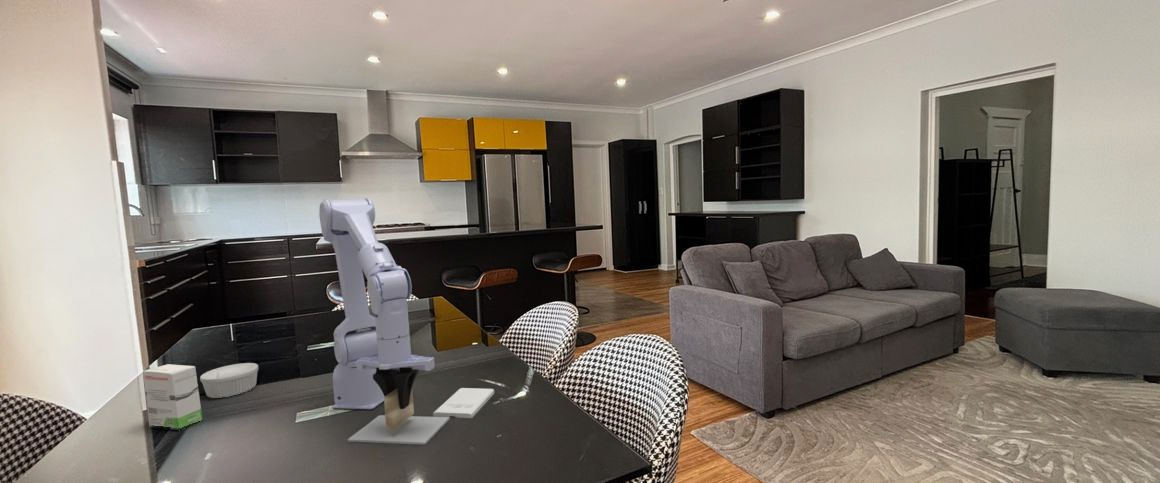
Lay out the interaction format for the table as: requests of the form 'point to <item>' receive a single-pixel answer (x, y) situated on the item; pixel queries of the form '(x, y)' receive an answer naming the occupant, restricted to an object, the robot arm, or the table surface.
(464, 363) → the table surface
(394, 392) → the tile
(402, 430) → the mat
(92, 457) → the table surface
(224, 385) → the ramekin
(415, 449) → the table surface
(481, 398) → the external hard drive
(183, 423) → the ink box
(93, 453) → the table surface
